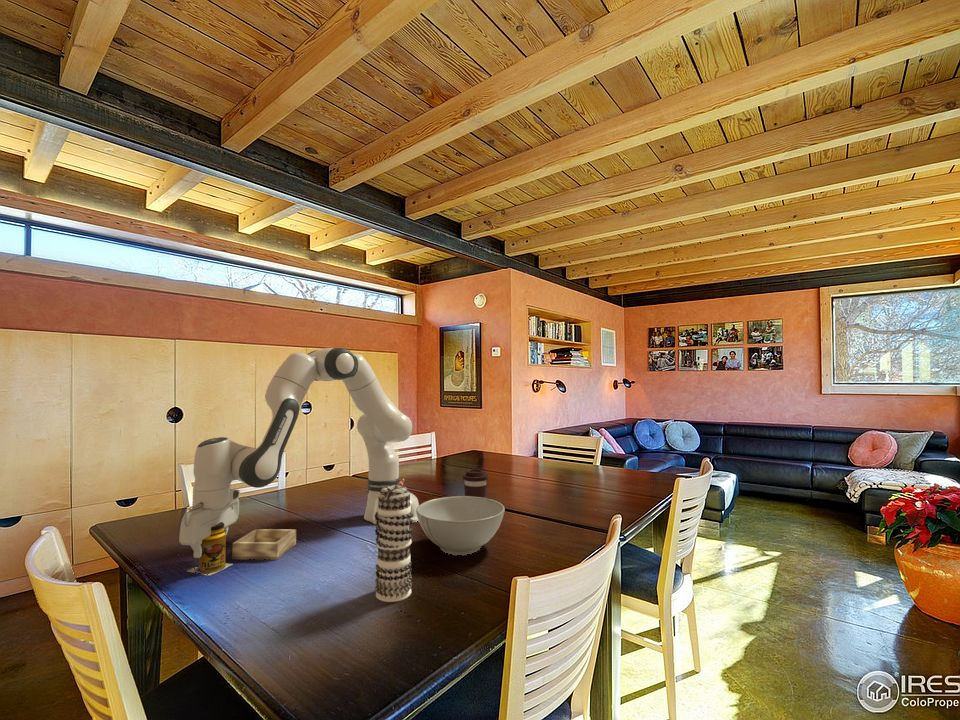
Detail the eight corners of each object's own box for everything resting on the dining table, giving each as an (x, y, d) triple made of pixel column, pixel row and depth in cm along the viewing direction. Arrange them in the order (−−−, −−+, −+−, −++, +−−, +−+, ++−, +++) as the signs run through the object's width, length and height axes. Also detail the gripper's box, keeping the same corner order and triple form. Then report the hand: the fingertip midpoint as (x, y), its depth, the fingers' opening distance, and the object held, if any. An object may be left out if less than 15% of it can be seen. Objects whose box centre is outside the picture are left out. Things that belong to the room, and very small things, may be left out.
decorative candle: (377, 606, 99) (378, 493, 100) (370, 588, 108) (371, 485, 109) (417, 598, 103) (417, 489, 104) (407, 581, 111) (408, 481, 112)
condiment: (210, 576, 115) (211, 529, 115) (185, 572, 117) (187, 526, 118) (233, 565, 122) (234, 521, 122) (210, 561, 124) (211, 518, 125)
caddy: (296, 544, 137) (296, 529, 137) (277, 559, 125) (277, 543, 125) (254, 543, 137) (255, 529, 138) (232, 559, 125) (232, 543, 126)
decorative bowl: (399, 558, 126) (399, 515, 126) (439, 528, 151) (439, 493, 151) (487, 572, 117) (487, 525, 117) (515, 538, 142) (514, 500, 142)
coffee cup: (465, 505, 179) (465, 468, 180) (489, 506, 178) (489, 468, 179) (460, 512, 169) (460, 473, 170) (486, 513, 168) (486, 473, 169)
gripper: (197, 509, 110) (195, 565, 109) (243, 489, 130) (242, 537, 130) (172, 509, 110) (171, 565, 109) (222, 489, 131) (221, 536, 130)
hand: (210, 549), depth 120 cm, fingers open, 8 cm apart
